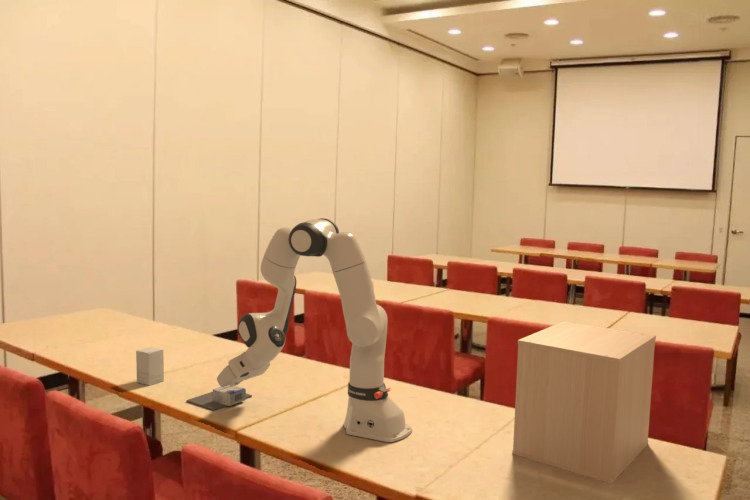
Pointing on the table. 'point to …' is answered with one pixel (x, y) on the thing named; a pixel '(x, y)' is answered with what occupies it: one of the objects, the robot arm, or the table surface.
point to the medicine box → (229, 395)
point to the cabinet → (583, 398)
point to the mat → (208, 401)
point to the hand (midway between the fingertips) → (233, 384)
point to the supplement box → (150, 366)
